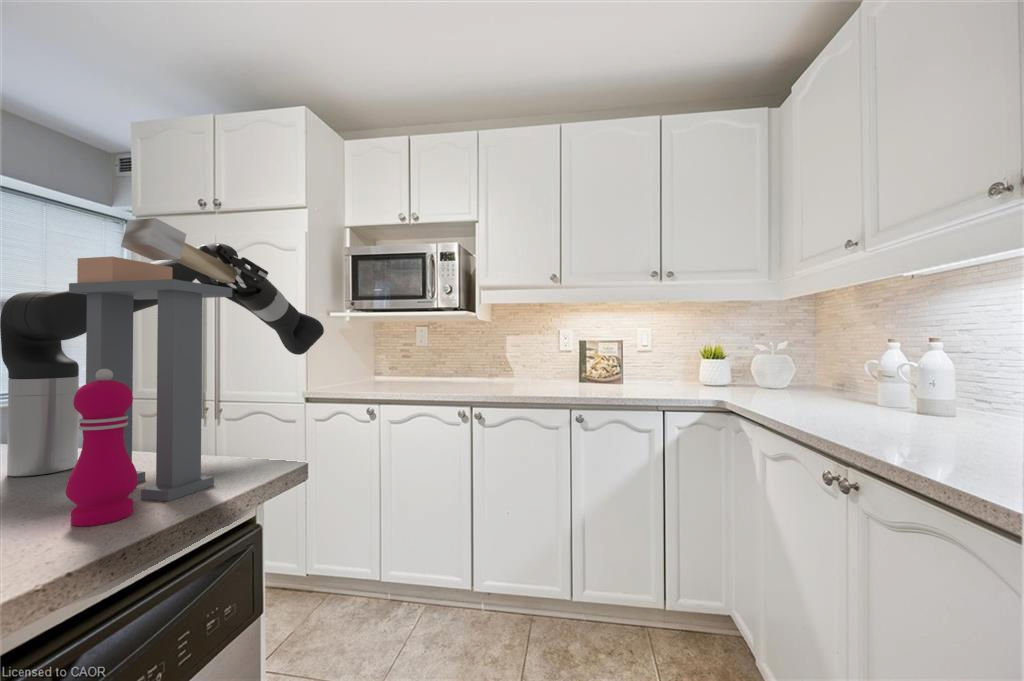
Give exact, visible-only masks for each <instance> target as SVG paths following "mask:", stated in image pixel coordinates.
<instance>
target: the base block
mask: <svg viewBox="0 0 1024 681" xmlns="http://www.w3.org/2000/svg"><path fill="white" fill-rule="evenodd" d="M76 265H77V269H76V270H77V275H76V276H77V277H76V278H77V279H76V281H77V282H76V283H88V282H113V281H138V280H163V279H172V267H168V266H163V265H157V264H152V263H151V262H147V261H146V262H145V261H141V260H140V261H139V260H135V259H128V258H124V257H118V256H114V255H113V256H99V257H98V256H94V257H81V258H77V264H76Z"/></svg>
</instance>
